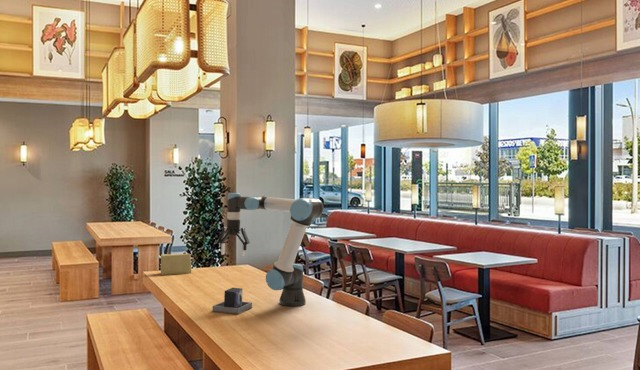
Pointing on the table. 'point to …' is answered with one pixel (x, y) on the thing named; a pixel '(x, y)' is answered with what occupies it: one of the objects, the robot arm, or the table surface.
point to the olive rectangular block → (175, 264)
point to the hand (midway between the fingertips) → (233, 255)
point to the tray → (223, 309)
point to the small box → (233, 298)
